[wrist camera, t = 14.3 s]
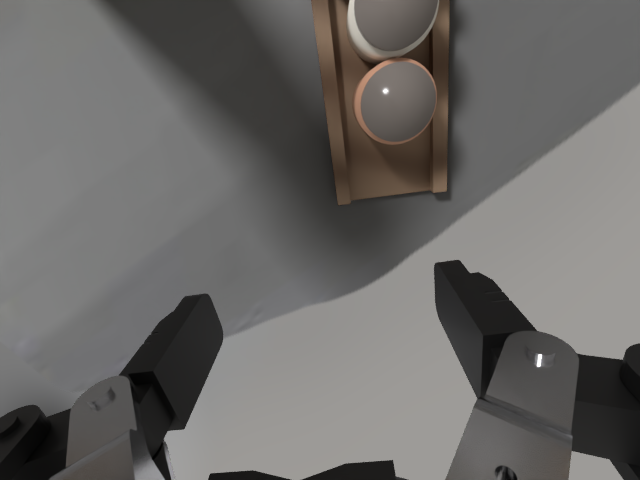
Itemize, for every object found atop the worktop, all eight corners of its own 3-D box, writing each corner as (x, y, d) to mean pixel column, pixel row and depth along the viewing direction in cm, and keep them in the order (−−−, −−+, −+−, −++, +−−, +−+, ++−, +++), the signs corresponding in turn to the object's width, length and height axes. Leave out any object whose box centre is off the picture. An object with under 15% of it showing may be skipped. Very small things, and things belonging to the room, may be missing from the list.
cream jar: (340, -12, 24) (343, -45, 18) (416, -30, 23) (441, -70, 18) (351, 71, 26) (356, 63, 21) (420, 56, 25) (444, 44, 20)
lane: (299, -96, 22) (290, -145, 18) (443, -128, 21) (473, -189, 17) (337, 200, 31) (338, 217, 27) (441, 186, 30) (460, 202, 26)
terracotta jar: (348, 70, 26) (353, 63, 21) (418, 59, 26) (441, 49, 20) (355, 140, 28) (360, 151, 23) (418, 131, 28) (440, 140, 22)
